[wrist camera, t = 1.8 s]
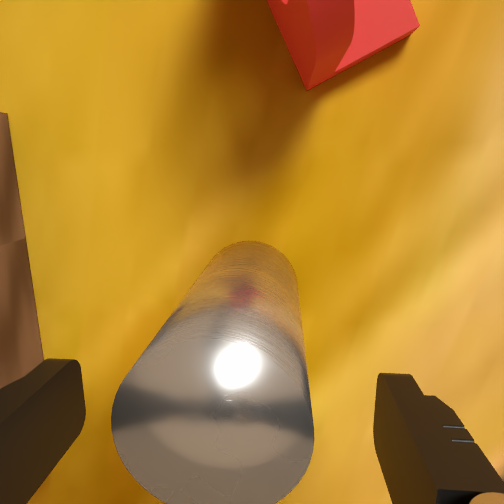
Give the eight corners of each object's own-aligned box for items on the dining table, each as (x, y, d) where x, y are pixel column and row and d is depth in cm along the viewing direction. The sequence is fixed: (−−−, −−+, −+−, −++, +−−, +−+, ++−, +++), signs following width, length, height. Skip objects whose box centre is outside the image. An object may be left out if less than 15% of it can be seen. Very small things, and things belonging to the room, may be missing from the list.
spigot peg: (202, 240, 18) (101, 336, 8) (298, 241, 17) (317, 344, 7) (205, 328, 19) (120, 510, 9) (296, 331, 18) (310, 524, 9)
